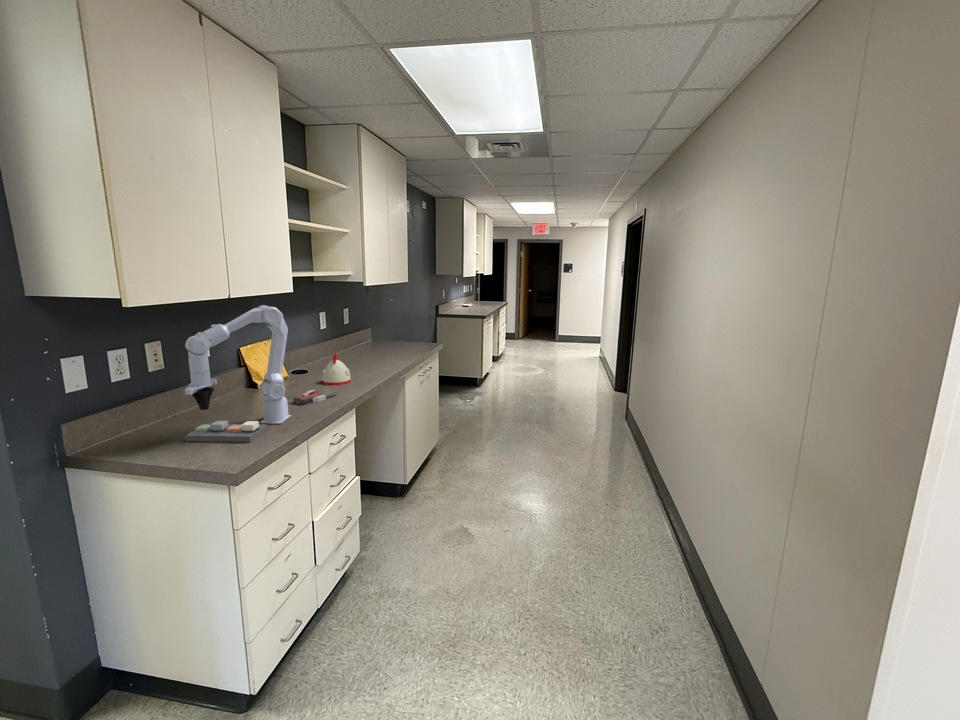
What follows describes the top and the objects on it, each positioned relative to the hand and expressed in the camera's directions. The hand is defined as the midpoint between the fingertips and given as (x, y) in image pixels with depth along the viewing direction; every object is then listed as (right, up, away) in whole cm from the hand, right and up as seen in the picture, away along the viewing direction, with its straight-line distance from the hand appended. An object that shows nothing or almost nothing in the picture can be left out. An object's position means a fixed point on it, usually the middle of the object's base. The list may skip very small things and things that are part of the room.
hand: (204, 409), depth 155 cm
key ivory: (+15, -8, +1) cm, 17 cm away
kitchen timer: (+21, +5, +77) cm, 80 cm away
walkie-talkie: (+22, -1, +46) cm, 51 cm away
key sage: (-1, -9, +2) cm, 9 cm away
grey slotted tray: (+7, -9, +2) cm, 12 cm away
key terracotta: (+10, -9, +2) cm, 14 cm away
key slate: (+5, -8, +1) cm, 9 cm away
